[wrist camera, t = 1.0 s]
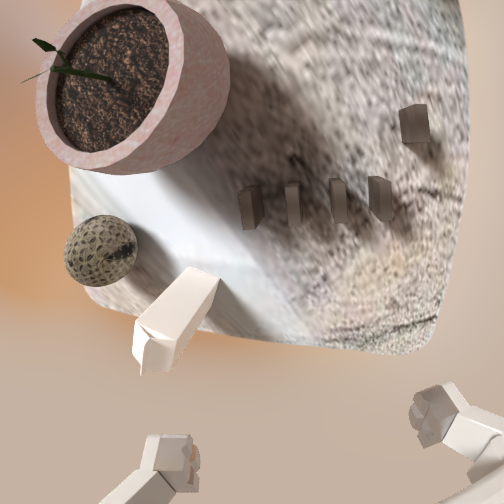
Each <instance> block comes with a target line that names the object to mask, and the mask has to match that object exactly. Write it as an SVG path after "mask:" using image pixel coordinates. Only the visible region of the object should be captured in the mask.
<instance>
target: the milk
mask: <svg viewBox="0 0 504 504" xmlns="http://www.w3.org/2000/svg"><path fill="white" fill-rule="evenodd" d="M219 280H220V278H219V277H216V276H213V275H211V274H208V273H206V272H203V271H201V270H198V269H196V268H193V267H191V266H188V267H187V268H186V269H185V270H184V271H183V272H182V273H181V274H180V275H179V276H178V278H177V279H176V280H175V281H174V282H173V283H172V284H171V285H170V286H169V287H168V288H167V289H166V290H165V291H164V292H163V293H162V294H161V295H160V296H159V297H158V298H157V299H156V300H155V301H154V302H153V303H152V304H151V305H150V306H149V307H148V308H147V309H146V310H145V311H144V312H143V314H142V315H141V316H140V317H139V318H138V319H137V320H136V321H135V329H134V339H133V349H132V353H133V355H134V356H135V358H136V359H137V360H138V361H139V363H140V364H141V371H140V376H142V374H143V373H144V372H145V371H146V370H151V371H171V370H172V368H173V367H174V365H175V363H176V362H177V360H178V359H179V357H180V355H181V354H182V352H183V350H184V349H185V347H186V346H187V344H188V343H189V341H190V339H191V338H192V336H193V335H194V333H195V331H196V330H197V328H198V327H199V325H200V323H201V322H202V320H203V319H204V317H205V315H206V314H207V312H208V311H209V309H210V307H211V306H212V303H213V300H214V296H215V293H216V290H217V286H218V283H219Z"/></svg>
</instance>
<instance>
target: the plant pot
mask: <svg viewBox="0 0 504 504" xmlns="http://www.w3.org/2000/svg"><path fill="white" fill-rule="evenodd" d="M33 41H34V42H35V43H36V44H37V45H38V46H40V47H41V48H42V49H43V50H44V51H45V52H47V54H46V56H45V58H44V61H43V63H42V66H41V69H40V72H39V74H38V75H36V76H39V77H38V82H37V87H36V104H35V107H36V108H35V110H36V116H37V121H38V127H39V129H40V132H41V134H42V136H43V139H44V141H45V143H46V145H47V146H48V147H49V149H50V150H51V151H52V152H53V153H54V155H55V156H56V157H57V158H59V159H60V160H62V161H63V162H65V163H67V164H68V165H70V166H72V167H75V168H79V169H84V170H89V171H94V172H100V173H105V174H111V175H131V174H139V173H148V172H153V171H156V170H158V169H161V168H163V167H166V166H168V165H171V164H173V163H176V162H178V161H180V160H181V159H182V158H184V157H185V156H186V155H188V154H189V153H190V152H192V151H193V150H194V149H196V148H197V147H199V146H200V145H201V144H202V142H203V141H204V140H205V139H206V138H207V137H208V135H209V134H210V133H211V132H212V131H213V130H214V128H215V127H216V125H217V123H218V121H219V119H220V117H221V115H222V113H223V112H224V110H225V108H226V104H227V99H228V95H229V90H230V86H231V84H230V62H229V59H228V56H227V53H226V50H225V48H224V45H223V42H222V39H221V37H220V36H219V35H218V33H217V32H216V31H215V30H214V28H213V27H212V26H211V25H210V24H209V22H208V21H207V20H206V19H205V18H204V17H203V16H202V15H201V14H199V13H198V12H196V11H194V10H193V9H191V8H189V7H187V6H186V5H184V4H182V3H180V2H178V1H177V0H94V1H92V2H91V3H89V4H88V5H86V6H85V7H84V8H82V9H81V10H80V11H78V12H77V13H76V14H75V15H74V16H73V17H72V18H71V19H70V20H69V21H68V22H67V23H66V24H65V25H64V27H63V28H62V29H61V30H60V31H59V33H58V34H57V36H56V38H55V39H54V41H53V42H52V44H49V43H47V42H45V41H42V40H39V39H36V38H35V39H33ZM36 76H34V77H36ZM34 77H32V78H34ZM30 79H31V78H30ZM28 80H29V79H28Z"/></svg>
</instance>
